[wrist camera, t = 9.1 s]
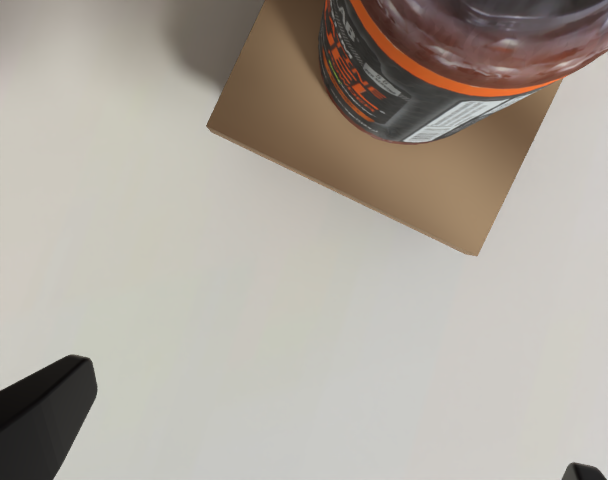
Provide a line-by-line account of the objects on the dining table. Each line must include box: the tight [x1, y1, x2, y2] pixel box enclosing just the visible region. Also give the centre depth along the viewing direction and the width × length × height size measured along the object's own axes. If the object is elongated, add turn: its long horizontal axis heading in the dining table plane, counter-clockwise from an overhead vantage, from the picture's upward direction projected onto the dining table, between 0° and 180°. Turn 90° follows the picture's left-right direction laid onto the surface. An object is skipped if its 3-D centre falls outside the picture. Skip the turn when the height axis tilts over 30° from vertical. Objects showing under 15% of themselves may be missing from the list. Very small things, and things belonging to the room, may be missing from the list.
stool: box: [206, 0, 563, 256], centre depth 20 cm, size 10×10×4 cm
